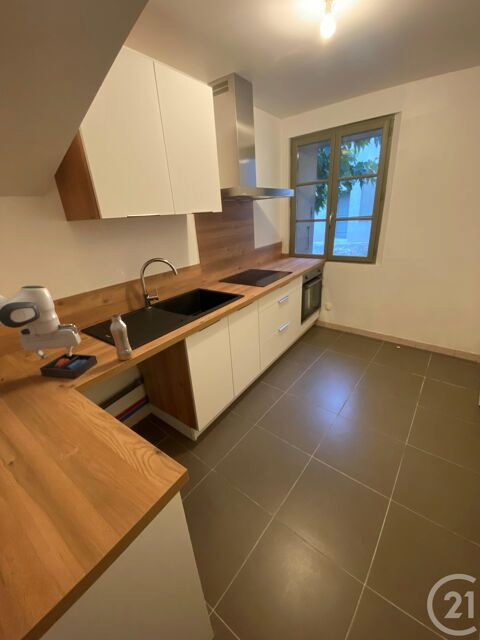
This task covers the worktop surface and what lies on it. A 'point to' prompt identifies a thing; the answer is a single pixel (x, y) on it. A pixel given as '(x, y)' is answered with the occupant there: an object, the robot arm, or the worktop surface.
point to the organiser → (63, 370)
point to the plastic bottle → (120, 338)
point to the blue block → (76, 364)
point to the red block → (61, 363)
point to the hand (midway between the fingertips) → (56, 357)
